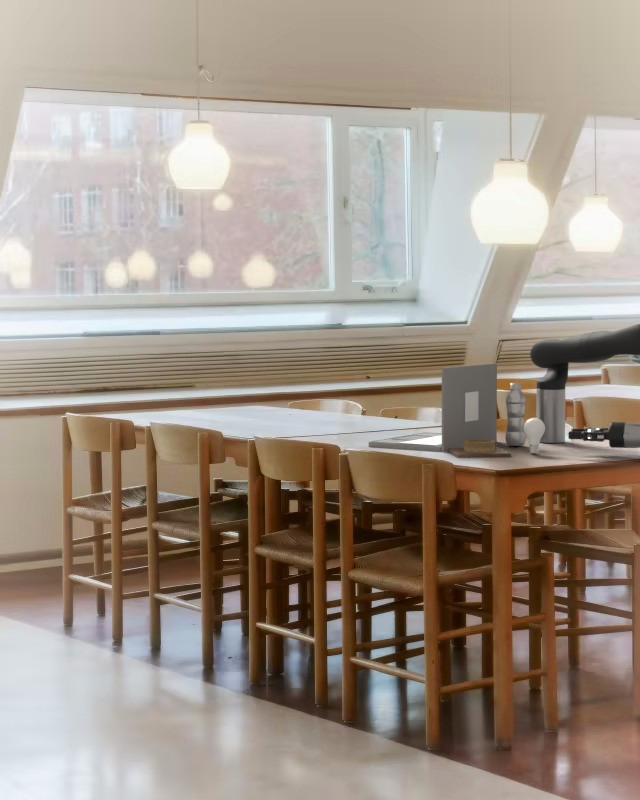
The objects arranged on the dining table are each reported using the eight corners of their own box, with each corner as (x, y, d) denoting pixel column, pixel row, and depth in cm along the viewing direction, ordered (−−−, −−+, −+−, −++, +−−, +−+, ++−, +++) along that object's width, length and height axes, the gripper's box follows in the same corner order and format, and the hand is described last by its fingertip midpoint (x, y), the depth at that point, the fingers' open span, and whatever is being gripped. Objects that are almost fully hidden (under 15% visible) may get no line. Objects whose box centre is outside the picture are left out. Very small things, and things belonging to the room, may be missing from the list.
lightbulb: (530, 456, 385) (531, 419, 384) (519, 453, 391) (519, 417, 390) (549, 455, 387) (549, 418, 387) (537, 452, 393) (537, 416, 392)
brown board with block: (448, 451, 398) (448, 438, 398) (500, 450, 399) (500, 437, 399) (457, 457, 382) (457, 444, 382) (511, 456, 383) (511, 443, 383)
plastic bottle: (523, 445, 414) (524, 382, 413) (527, 447, 407) (528, 383, 406) (503, 445, 414) (503, 382, 412) (507, 447, 407) (507, 384, 406)
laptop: (424, 438, 441) (424, 361, 439) (497, 442, 425) (497, 363, 424) (368, 447, 413) (368, 365, 411) (444, 453, 397) (444, 367, 395)
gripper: (628, 420, 387) (573, 419, 392) (624, 424, 373) (567, 423, 378) (628, 445, 387) (573, 443, 392) (624, 450, 374) (567, 449, 379)
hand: (570, 433), depth 385 cm, fingers open, 8 cm apart
